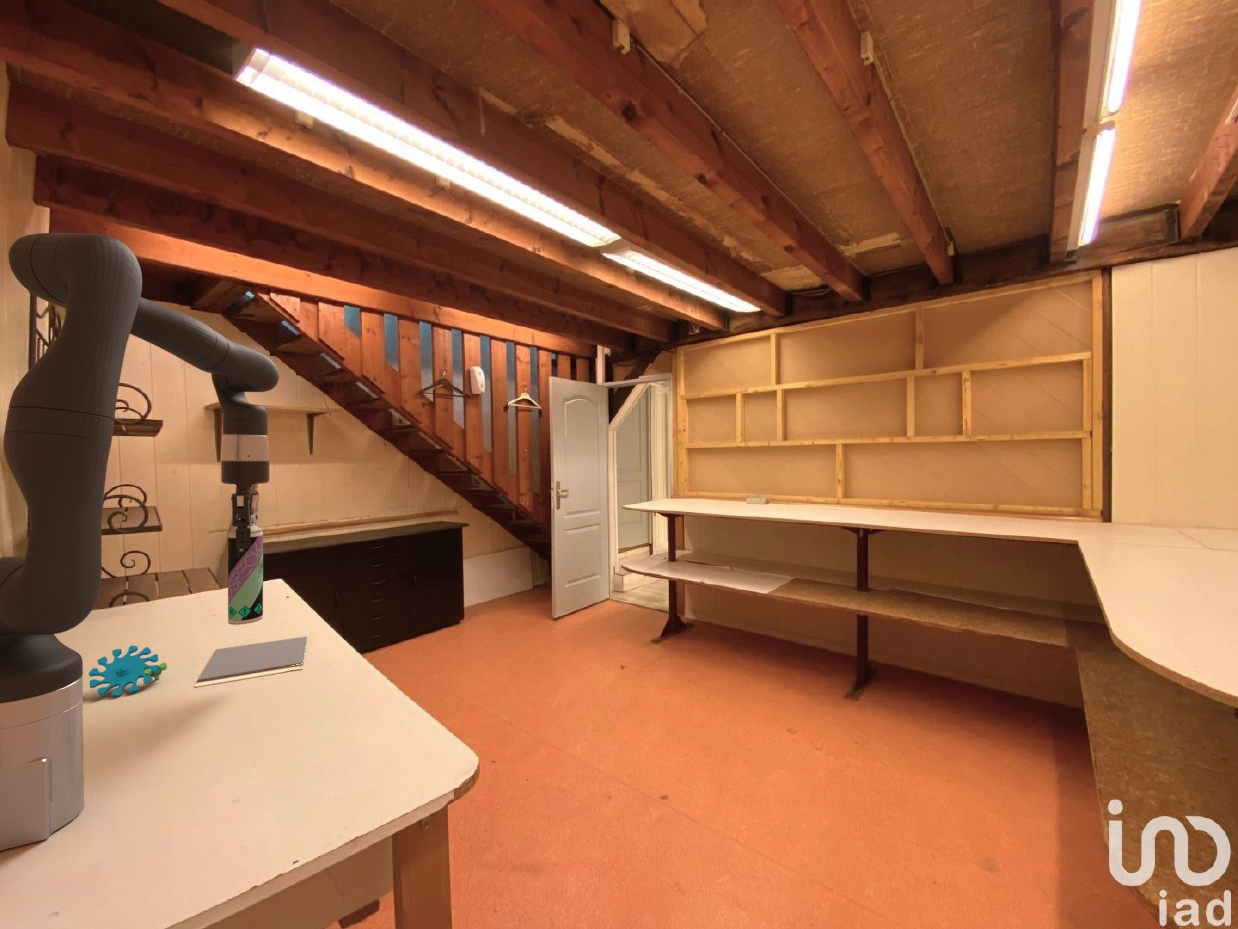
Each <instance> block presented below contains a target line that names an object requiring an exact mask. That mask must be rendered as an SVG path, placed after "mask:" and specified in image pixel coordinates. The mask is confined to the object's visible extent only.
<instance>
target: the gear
mask: <svg viewBox="0 0 1238 929" xmlns="http://www.w3.org/2000/svg"><path fill="white" fill-rule="evenodd" d="M138 650H139V646H137V645H129V647H128V650H127V652H126V654H124V655H123V656H122V657H119V656H120V655H122V653H123V651H122V649H121V648H116V649H113V650H112V651H111V652H112V654H111V655H112V656H113V660H112V662H110V663H107V662H108V658H107V656H102V657H101V658H98V659H97V664H98V665H99V666H103V667H104V668H105V670H104V671H99V669H98V668H96V667H93V668H92V669H90V670H89V672H88V676H89V677H91V678H92V677H103V679H102V680H98V679H95V678H93V679H91V680H89V682H88V683H89V688H90V689H93V688H96V687H98V686H100V685H105V684H107V685H108V684H109V685H108V686H103V687H101V686H100V687H99V688H97V690H96V691H97V694H98V695H99V696H101V697H102V696H103V697H104V696H105V695H106V694H107V693H108V692H109V691H110V690H112V689H113V688H115V689H114V690H113V691H112V692H111V696H112V697H114V698H120V697H121V696H122V693H123V691H124V689H125V688H126V687H127V686H129V684H131V686H129V688H128V693H130V694H134V693H136V692H139V686H138V684H137V683H138V680H139V679H142V682H143V684H144V685H148V684H150V683H151V682H153V678H154V680H155V681H158V680H160V676H161V675H162V672H164V671H166V670H167V669H168V665H167V663H166V662H162V663H160V664H153V665H149V664H147V662H152V663H157V662H159V654H158V653H157V654H156V653H155V654H152V650H151V648H150V647H148V646H146V647H144V648H143V649H142V650H141V651H140V652H139V653H136V652H137V651H138ZM134 653H136V654H134ZM132 654H134V655H132ZM150 654H152V655H151V656H148V655H150ZM142 656H148V657H142ZM116 687H118V688H116Z"/></svg>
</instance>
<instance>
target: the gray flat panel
mask: <svg viewBox="0 0 1238 929" xmlns="http://www.w3.org/2000/svg"><path fill="white" fill-rule="evenodd" d="M306 639H307V640H308V637H307V636H299V637H294V638H287V639H286V638H285V639H278V640H272V641H265V642H258V643H251V644H244V645H238V646H232V647H231V646H230V647H224V648H216V649H215V650H214V652H213V654H212V655H211V657H210V659H209V660H208V662H207V664H206V665H205V667H204V669H203V670H202V672H201V674H200V675H199V677H198V679H197V683H196V684H195V686H194V688H201V687H206V686H212V685H217V684H225V683H229V682H230V683H231V682H236V681H241V680H247V679H253V678H258V677H259V678H260V677H265V676H264V675H266V676H271V675H277V674H283V673H282V672H284V673H287V672H286V671H290V670H287V669H301V668H299V666H292V665H296V664H301V663H303V664H304V662H303V660H304V661H305V655H304V653H306V648H305V646H306V645H307V640H306ZM306 647H307V646H306ZM289 666H292V667H289ZM285 667H286V668H285ZM295 667H297V668H295ZM273 669H274V670H273ZM290 672H291V671H290Z"/></svg>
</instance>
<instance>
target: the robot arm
mask: <svg viewBox="0 0 1238 929" xmlns="http://www.w3.org/2000/svg"><path fill="white" fill-rule="evenodd" d="M8 250H9V251H8V263H9V266H10V267H9V268H10V270H11V272H12V273H13V275H14V277H15V279H16V280H17V281H18V283H20V284H21V285H22V286H23V287H24V288H25V289H26V290H27V292H30V293H31V294H32V295H34V296H36V298H37V297H38V298H40V299H42V300H44V301H46V302H47V303H50V304H53V305H56V306H58V307H61V308H63V309H66V310H65V311H66V312H65V317H64V320H63V324H62V326H61V328H60V331H59V332H58V333H59V334H58V335H57V337H56V338H55V340H54V342H52V344H50V346H49V347H48V349H47V350H46V351H45V352H44V353H43V354H42V356H40V357H39V359H38V360H37V361H36V362H35V363H34V364H33V365H32V366H31V368H30V369H29V370H28V371H27V372H25V374H24V375H23V377H22V378H21V379H20V381H19V382H18V384H17V385H16V386H15V388H14V390H13V392H12V394H11V397H10V400H9V404H8V409H7V415H6V420H5V422H6V423H5V425H4V426H5V427H4V433H3V441H2V442H3V443H2V444H3V446H2V448H3V454H4V457H5V460H6V463H7V465H8V469H9V470H10V472H11V475H12V477H13V479H14V481H15V482H16V485H17V487H18V488H19V490H20V492H21V494H22V497H23V499H24V501H25V504H26V508H27V510H28V516H29V517H28V518H29V532H28V539H27V544H26V545H27V547H26V552H25V555H23V556H22V555H21V556H20V555H19V556H16V555H15V556H4V557H2V556H1V557H0V851H4V850H8V848H9V849H11V848H15V847H21V846H24V845H27V844H32V843H36V842H40V841H43V840H46V839H49V838H50V836H51V835H52V834H53V833H54V832H55V831H58V830H59V829H60V828H62V827H64V826H65V825H67V824H68V823H70V822H72V821H73V820H74V819H75V818H76V817H77V816H79V814H81V812H82V811H83V809H84V806H85V788H84V787H85V783H84V781H85V778H84V777H85V776H84V774H85V773H84V771H85V770H84V768H85V767H84V710H83V709H84V703H83V702H84V701H83V700H84V677H83V673H84V665H83V663H84V661H83V657H82V655H81V654H80V653H79V652H77V651H76V650H74V649H72V648H71V647H69V646H67V645H65V644H64V643H63V642H62V641H60V639H59V638H57V637H56V634H62V633H65V632H67V631H70V630H72V629H75V627H78V626H79V625H80V624H81V623H82V622H83V621H84V620H86V618H87V617H88V616H89V615H90V614H91V612H92V611H93V609H94V607H95V605H96V602H97V601H98V599H99V594H100V591H101V585H102V584H101V583H102V568H103V567H102V564H103V562H102V553H103V552H102V549H103V548H102V527H103V526H102V524H103V523H102V520H103V518H102V516H103V506H104V498H105V489H106V487H105V486H106V479H107V469H108V462H109V461H108V460H109V457H110V452H111V447H112V440H113V435H114V428H115V427H114V426H115V421H116V420H115V419H116V410H117V409H116V408H117V401H118V400H117V398H118V392H119V386H120V380H121V375H122V370H123V365H124V364H123V363H124V358H125V355H126V354H125V353H126V348H127V345H128V342H129V338H130V335H132V336H134V337H136V338H138V339H140V340H143V341H145V342H147V343H148V344H151V345H153V346H155V347H157V348H159V349H160V350H161V349H162V350H164V351H165V352H167V353H169V354H171V355H173V356H175V357H176V358H178V359H180V360H182V361H184V362H185V363H187V364H188V365H191V366H193V367H195V368H196V369H198V370H200V371H203V372H205V373H209V374H210V375H211V380H212V384H213V387H214V390H215V394H216V396H217V399H218V404H219V405H220V409H221V412H222V440H221V446H220V471H221V472H220V474H221V475H220V477H221V478H220V482H221V483H222V484H224V485H235V486H236V487H235V492H234V493H231V498H230V499H231V500H230V501H231V506H232V507H231V509H232V510H231V514H232V522H231V525H232V527H233V528H235V529H236V548H237V549H248V548H250V546H251V527H252V524H251V522H253V523H254V524H255V525H256V524H257V521H258V519H259V507H260V506H259V501H260V492H259V491H258V490H256V484H257V485H258V484H259V485H260V484H267V483H269V482H270V444H269V435H268V434H269V424H268V423H269V420H268V419H269V415H268V411H267V409H266V408H265V407H264V406H260V405H257V404H253V403H250V402H249V401H248V398H247V396H246V393H264V392H265V393H266V392H269V391H271V390H273V389H274V388H275V387H276V386H277V385H278V384H279V381H280V373H279V369H278V367H277V366H276V364H275V363H274V362H273V360H271V359H270V358H269V357H268V356H266V355H264V354H263V353H262V352H259V351H257V350H255V349H252V348H249V347H247V346H245V345H243V344H240V343H237V342H234V341H231V340H229V339H228V338H226V337H225V336H224V335H222V334H221V333H219V332H218V331H216V330H215V329H214V328H211V327H210V326H209V325H207V324H205V323H204V322H202V321H200V320H198V319H197V318H194V317H192V316H190V315H187V314H185V313H183V312H180V311H178V310H176V309H172V308H169V307H167V306H165V305H162V304H159V303H156V302H154V301H151V300H150V299H147V298H144V297H142V290H143V277H142V276H143V273H142V270H141V266H140V263H139V260H138V259H137V256H135V254H134V252H133V251H132V250H131V249H130V248H129V246H127V245H126V244H125V243H124V242H123V241H121V240H119V239H117V238H115V237H113V236H109V235H104V234H97V233H82V232H81V233H80V232H78V233H75V232H72V233H71V232H39V233H32V234H28V235H24V236H21V237H19V238H18V239H16V240H15V241H14V242H12V245H11V246H10V248H9V249H8ZM241 517H246V520H240V519H241ZM249 528H250V529H249Z"/></svg>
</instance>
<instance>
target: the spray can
mask: <svg viewBox="0 0 1238 929" xmlns="http://www.w3.org/2000/svg"><path fill="white" fill-rule="evenodd" d="M239 520H246V517H241V519H240V518H239ZM251 524H252V527H251V546H250V548H248V549H237V548H236V529H235V527H233V528H232V529H230V530H228V533H229V534H227V623H228V624H229V625H234V626H239V625H248V624H252V623H253V624H254V623H256V622H259V621H261V620H263V618H264V533H263V528H261V527H259V526H257V525H256V524H254V523H253V522H251ZM249 529H250V528H249Z"/></svg>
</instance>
